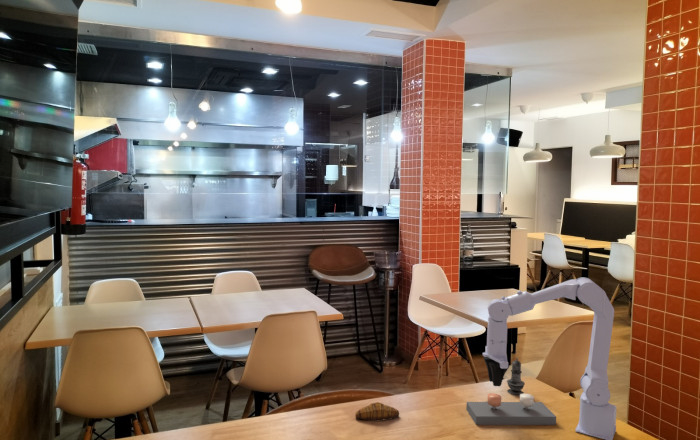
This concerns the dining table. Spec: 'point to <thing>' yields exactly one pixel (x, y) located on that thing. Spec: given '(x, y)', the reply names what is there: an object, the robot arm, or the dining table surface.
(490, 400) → the knob
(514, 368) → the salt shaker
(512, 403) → the control board
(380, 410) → the croissant
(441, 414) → the dining table surface
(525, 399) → the knob
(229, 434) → the dining table surface
